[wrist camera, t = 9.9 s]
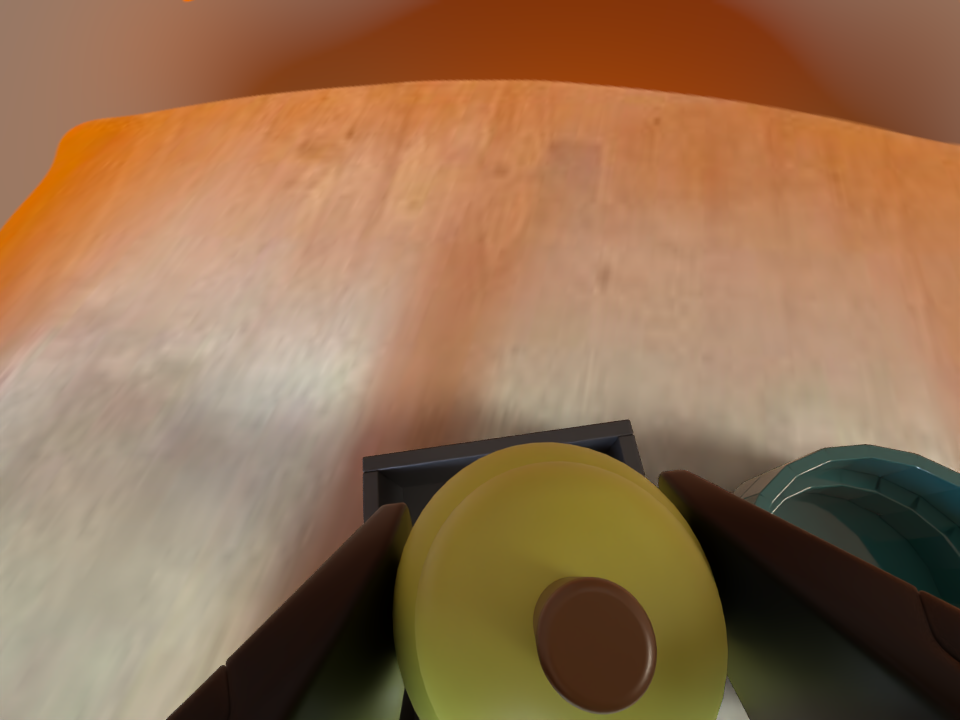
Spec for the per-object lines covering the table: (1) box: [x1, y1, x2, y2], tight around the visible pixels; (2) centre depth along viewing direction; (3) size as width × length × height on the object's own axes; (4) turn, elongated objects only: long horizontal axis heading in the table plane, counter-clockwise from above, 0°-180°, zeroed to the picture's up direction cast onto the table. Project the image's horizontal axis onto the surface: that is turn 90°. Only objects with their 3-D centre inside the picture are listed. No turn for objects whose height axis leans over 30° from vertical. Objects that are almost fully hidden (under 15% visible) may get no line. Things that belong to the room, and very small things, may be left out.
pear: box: [392, 442, 728, 720], centre depth 8 cm, size 6×6×12 cm
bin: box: [363, 420, 645, 720], centre depth 18 cm, size 10×10×5 cm
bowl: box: [732, 444, 960, 609], centre depth 17 cm, size 10×10×4 cm
